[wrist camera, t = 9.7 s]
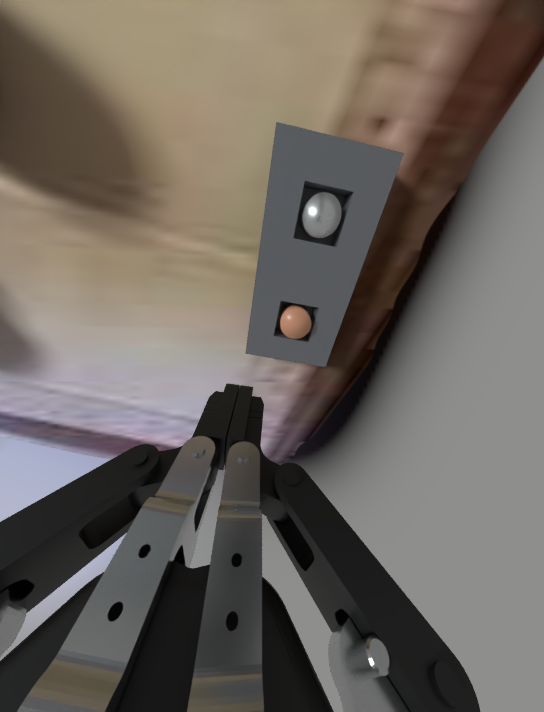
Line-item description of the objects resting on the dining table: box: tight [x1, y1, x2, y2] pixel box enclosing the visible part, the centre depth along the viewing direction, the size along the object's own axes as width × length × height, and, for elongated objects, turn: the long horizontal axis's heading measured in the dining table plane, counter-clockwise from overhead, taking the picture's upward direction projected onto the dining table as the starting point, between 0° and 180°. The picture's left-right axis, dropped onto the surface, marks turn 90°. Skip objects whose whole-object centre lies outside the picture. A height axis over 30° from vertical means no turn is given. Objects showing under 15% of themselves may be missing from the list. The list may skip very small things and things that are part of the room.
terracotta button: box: [280, 303, 311, 339], centre depth 29 cm, size 4×4×3 cm
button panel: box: [246, 122, 404, 367], centre depth 27 cm, size 24×12×4 cm, turn 170°
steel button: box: [300, 192, 341, 238], centre depth 23 cm, size 4×4×3 cm
